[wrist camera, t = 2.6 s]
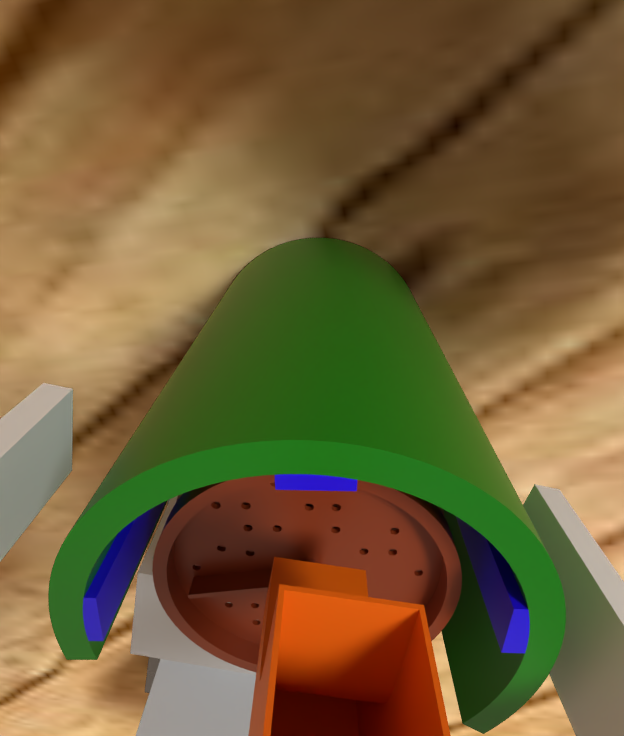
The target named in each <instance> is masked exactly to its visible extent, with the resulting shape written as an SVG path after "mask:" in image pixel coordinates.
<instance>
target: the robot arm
mask: <svg viewBox="0 0 624 736" xmlns="http://www.w3.org/2000/svg"><path fill="white" fill-rule="evenodd" d="M72 427H73V389H71V388H67V387H62V386H57V385H52V384H47V383H43V384H41V385H40V386H39V387H38V388H37V389H35V390H34V391H33V392H32V393H31V394H29V395H28V396H27V397H26V398H25V399H23V400H22V401H21V402H20V403H19V404H17V405H16V406H15V407H14V408H13V409H11V410H10V411H9V412H8V413H7V414H5V415H4V416H3V417H2V418H1V419H0V562H1V560H2V559H3V558H4V556H5V555H6V554H7V553H8V551H9V550H10V549H11V547H12V546H13V545H14V544H15V542H16V541H17V540H18V539H19V537H20V536H21V535H22V533H23V532H24V531H25V530H26V528H27V527H28V526H29V525H30V523H31V522H32V521H33V519H34V518H35V517H36V516H37V514H38V513H39V512H40V510H41V509H42V508H43V507H44V505H45V504H46V503H47V502H48V500H49V499H50V498H51V496H52V495H53V494H54V493H55V491H56V490H57V489H58V488H59V486H60V485H61V484H62V482H63V481H64V480H65V479H66V477H67V476H68V475H69V473H70V472H71V471H72ZM523 507H524V508H525V510H526V512H527V514H528V516H529V518H530V520H531V522H532V524H533V526H534V528H535V529H536V531H537V533H538V535H539V537H540V539H541V541H542V543H543V545H544V547H545V548H546V550H547V552H548V554H549V556H550V558H551V560H552V562H553V564H554V566H555V568H556V570H557V573H558V576H559V578H560V581H561V584H562V588H563V593H564V598H565V606H566V624H565V633H564V638H563V642H562V646H561V649H560V652H559V655H558V657H557V659H556V661H555V664H554V666H553V668H552V669H551V671H550V673H549V674H550V676H551V679H552V681H553V683H554V686H555V688H556V690H557V693H558V695H559V697H560V700H561V702H562V704H563V707H564V709H565V711H566V714H567V716H568V718H569V721H570V723H571V725H572V728H573V730H574V732H575V735H576V736H624V582H623V580H622V579H621V577H620V576H619V574H618V573H617V572H616V570H615V569H614V567H613V566H612V564H611V563H610V561H609V560H608V559H607V557H606V556H605V554H604V553H603V551H602V550H601V548H600V547H599V546H598V544H597V543H596V541H595V540H594V538H593V537H592V535H591V534H590V533H589V531H588V530H587V528H586V527H585V525H584V524H583V523H582V521H581V520H580V518H579V517H578V515H577V514H576V512H575V511H574V510H573V508H572V507H571V505H570V504H569V502H568V501H567V499H566V498H565V497H564V495H563V494H562V492H561V491H560V489H555V488H550V487H545V486H540V485H534V487H533V488H532V490H531V492H530V494H529V496H528V497H527V499H526V501H525V503H524V505H523Z"/></svg>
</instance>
